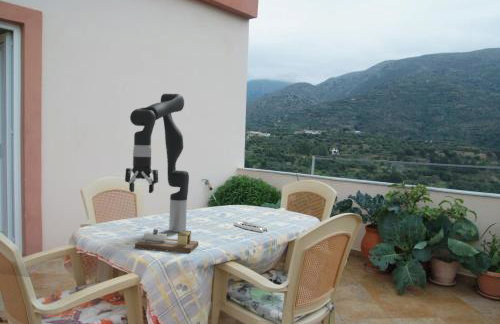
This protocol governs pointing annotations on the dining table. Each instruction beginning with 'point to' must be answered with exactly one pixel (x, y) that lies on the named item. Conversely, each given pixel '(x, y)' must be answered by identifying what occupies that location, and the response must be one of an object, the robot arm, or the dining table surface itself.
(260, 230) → the door handle
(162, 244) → the door panel
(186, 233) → the keeper
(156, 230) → the bolt
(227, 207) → the dining table surface
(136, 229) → the dining table surface
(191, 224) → the dining table surface
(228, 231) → the dining table surface
